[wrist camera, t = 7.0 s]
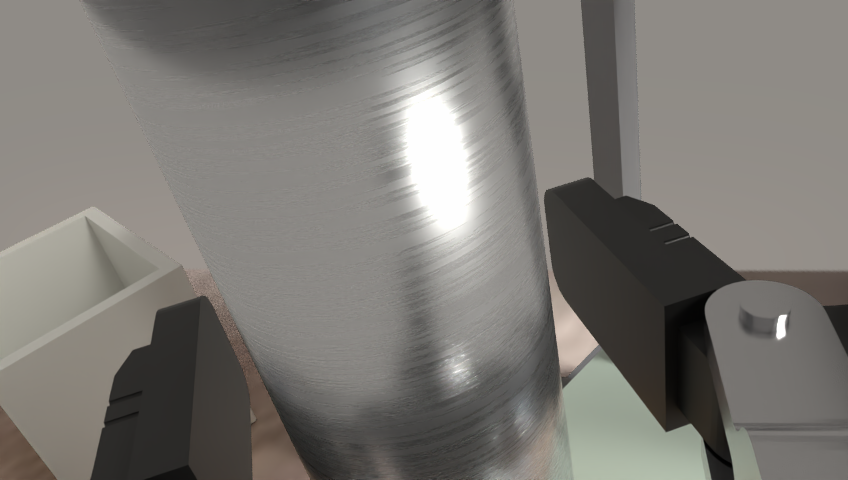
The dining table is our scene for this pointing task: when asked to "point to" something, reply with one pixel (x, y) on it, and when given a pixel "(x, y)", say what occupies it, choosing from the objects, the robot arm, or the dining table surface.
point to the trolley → (600, 379)
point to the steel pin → (363, 220)
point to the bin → (76, 329)
